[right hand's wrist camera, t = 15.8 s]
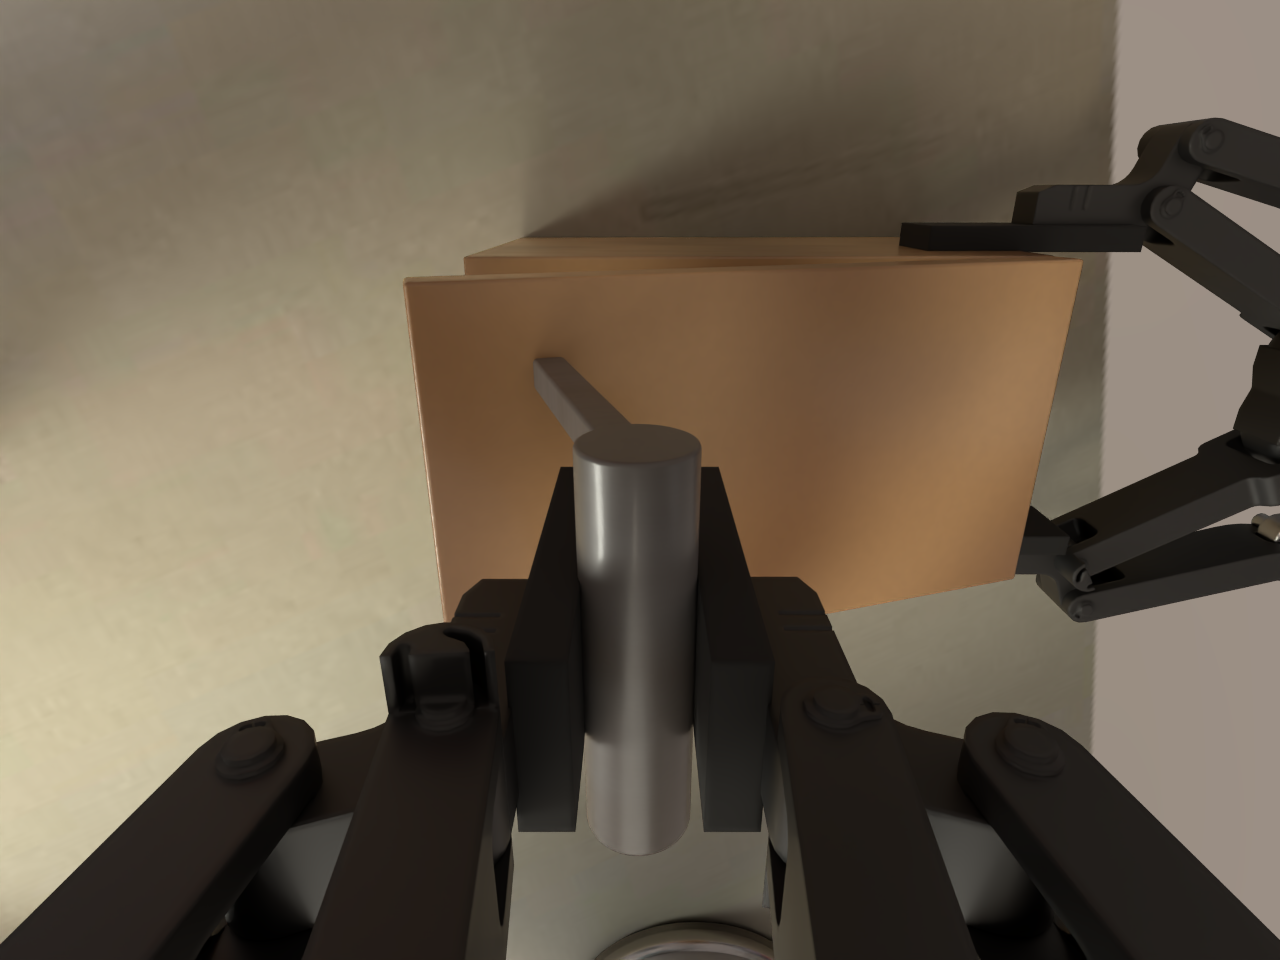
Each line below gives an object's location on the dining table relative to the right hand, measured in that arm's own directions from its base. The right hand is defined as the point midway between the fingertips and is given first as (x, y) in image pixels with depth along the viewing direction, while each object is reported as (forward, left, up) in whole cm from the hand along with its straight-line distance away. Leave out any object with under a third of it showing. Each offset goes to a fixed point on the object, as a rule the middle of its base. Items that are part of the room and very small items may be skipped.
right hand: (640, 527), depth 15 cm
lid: (+1, -3, -5) cm, 6 cm away
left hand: (+3, -8, -11) cm, 14 cm away
